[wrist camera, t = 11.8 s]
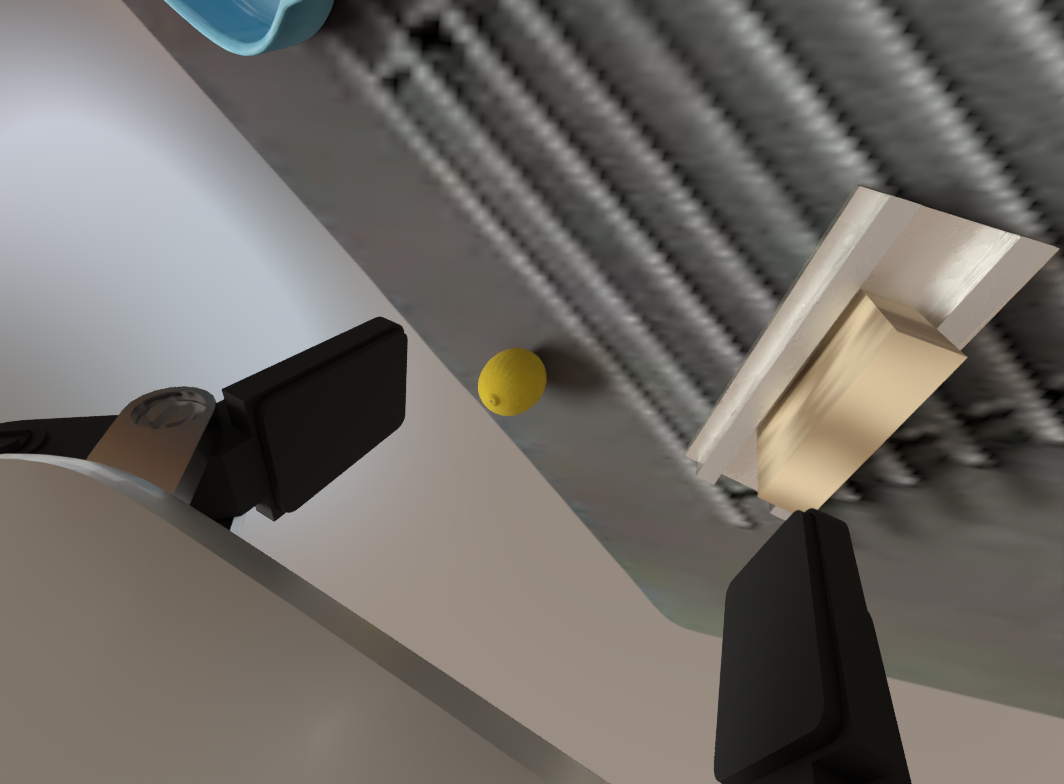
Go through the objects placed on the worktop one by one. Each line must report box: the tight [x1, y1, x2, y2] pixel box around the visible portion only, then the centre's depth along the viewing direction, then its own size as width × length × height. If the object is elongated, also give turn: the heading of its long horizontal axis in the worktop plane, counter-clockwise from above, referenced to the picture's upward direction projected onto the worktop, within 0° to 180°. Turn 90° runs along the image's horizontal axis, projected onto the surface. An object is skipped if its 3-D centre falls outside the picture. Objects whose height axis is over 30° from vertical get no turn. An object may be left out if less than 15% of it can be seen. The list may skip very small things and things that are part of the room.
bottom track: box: [685, 185, 1059, 521], centre depth 29 cm, size 22×10×3 cm, turn 164°
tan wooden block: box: [757, 290, 968, 513], centre depth 26 cm, size 12×3×8 cm, turn 164°
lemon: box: [478, 348, 547, 416], centre depth 37 cm, size 6×6×8 cm
